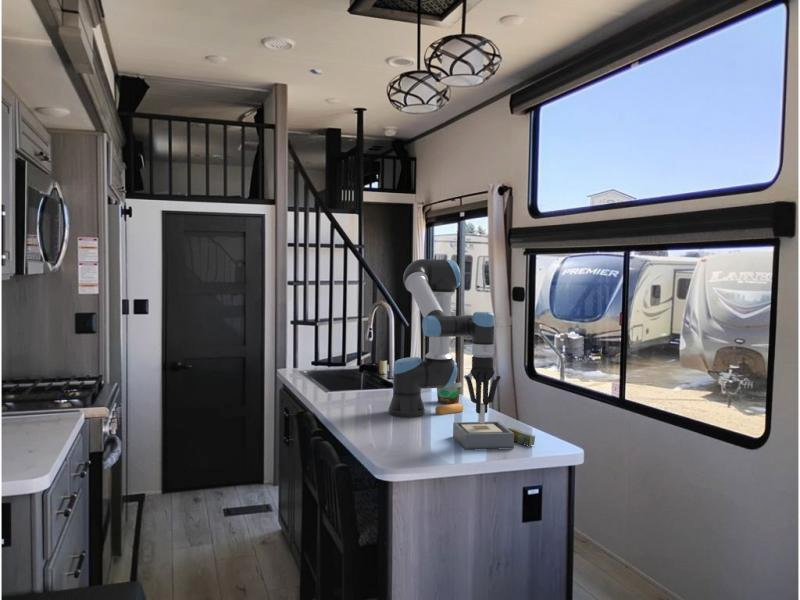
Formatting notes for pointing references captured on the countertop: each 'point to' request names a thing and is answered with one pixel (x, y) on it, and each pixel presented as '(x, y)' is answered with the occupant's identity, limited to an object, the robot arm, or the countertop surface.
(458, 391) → the food container
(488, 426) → the box
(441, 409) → the peg
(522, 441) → the medication box
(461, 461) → the countertop surface
